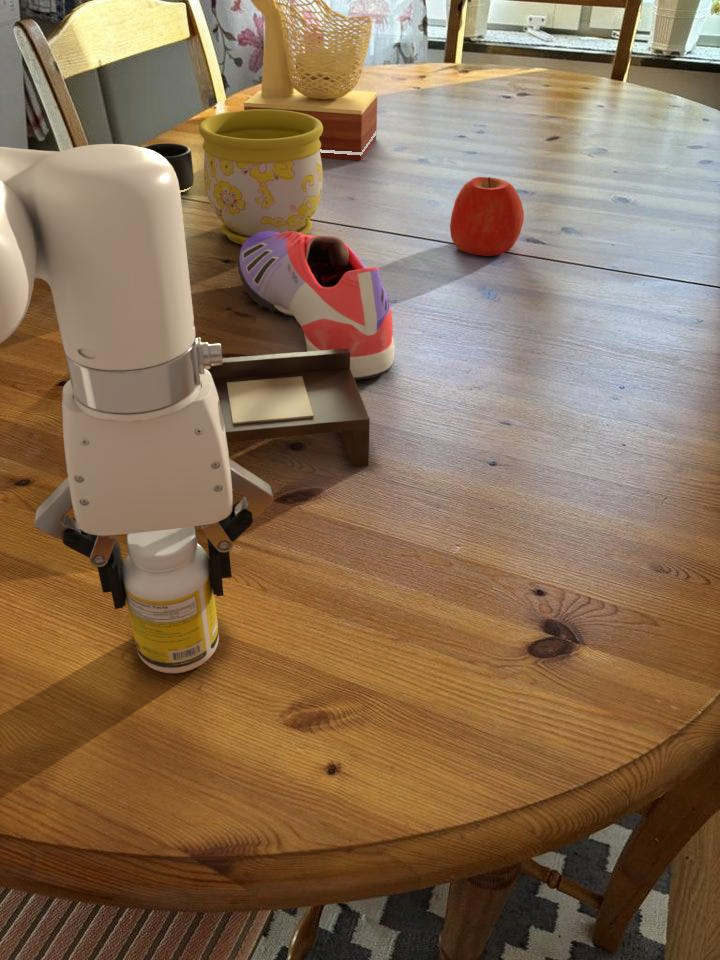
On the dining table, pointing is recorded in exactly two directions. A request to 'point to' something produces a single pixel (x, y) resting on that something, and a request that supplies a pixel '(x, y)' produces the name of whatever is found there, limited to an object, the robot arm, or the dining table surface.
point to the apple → (486, 217)
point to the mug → (177, 161)
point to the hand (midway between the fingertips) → (169, 587)
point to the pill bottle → (170, 599)
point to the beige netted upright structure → (318, 75)
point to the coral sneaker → (322, 295)
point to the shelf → (293, 398)
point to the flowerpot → (262, 170)
